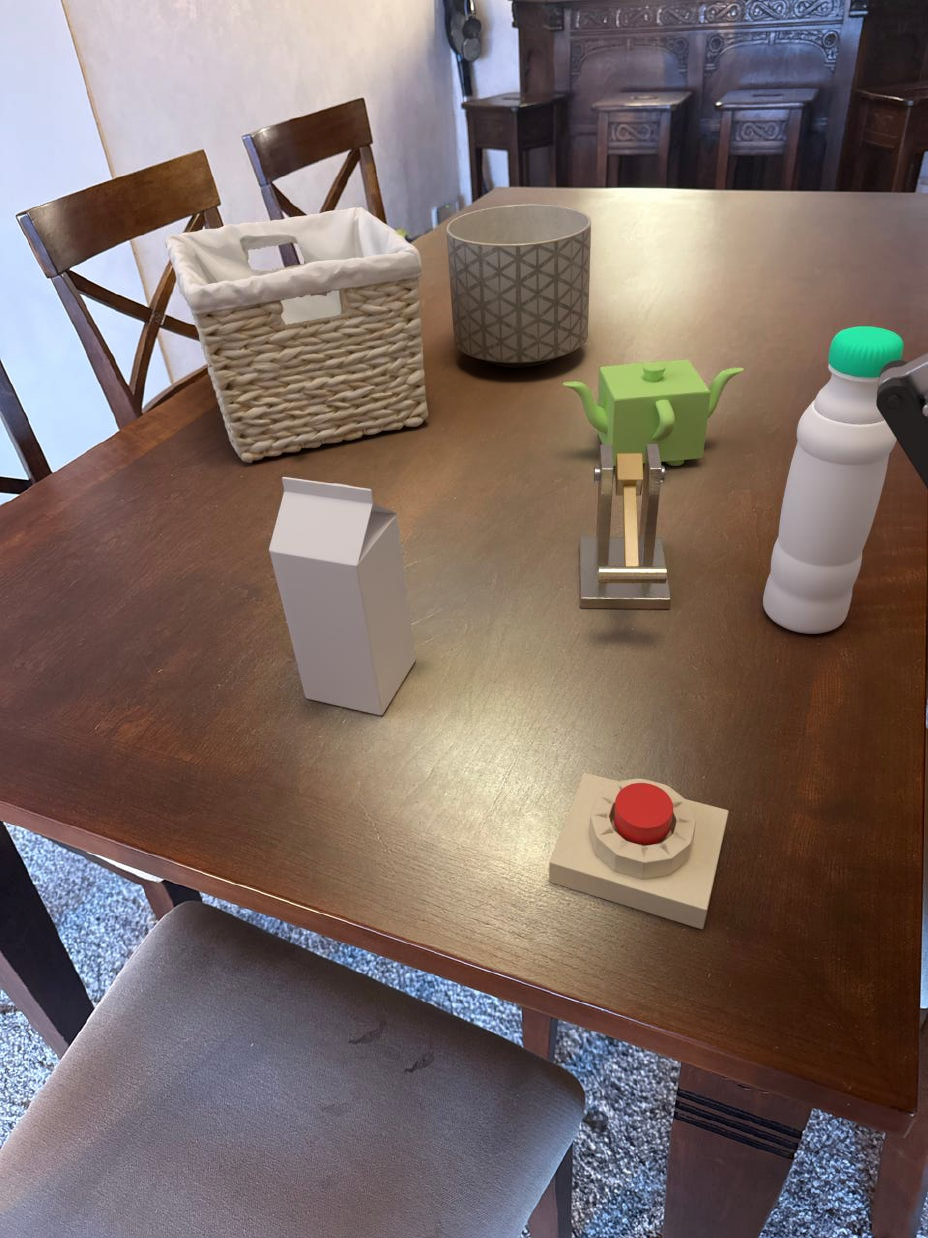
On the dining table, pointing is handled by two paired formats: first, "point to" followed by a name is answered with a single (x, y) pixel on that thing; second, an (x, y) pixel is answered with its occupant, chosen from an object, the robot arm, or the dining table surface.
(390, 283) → the basket
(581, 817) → the box
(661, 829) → the button
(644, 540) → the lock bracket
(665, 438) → the teapot
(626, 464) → the lever
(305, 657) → the milk carton
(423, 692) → the dining table surface
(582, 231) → the planter
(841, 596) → the water bottle
